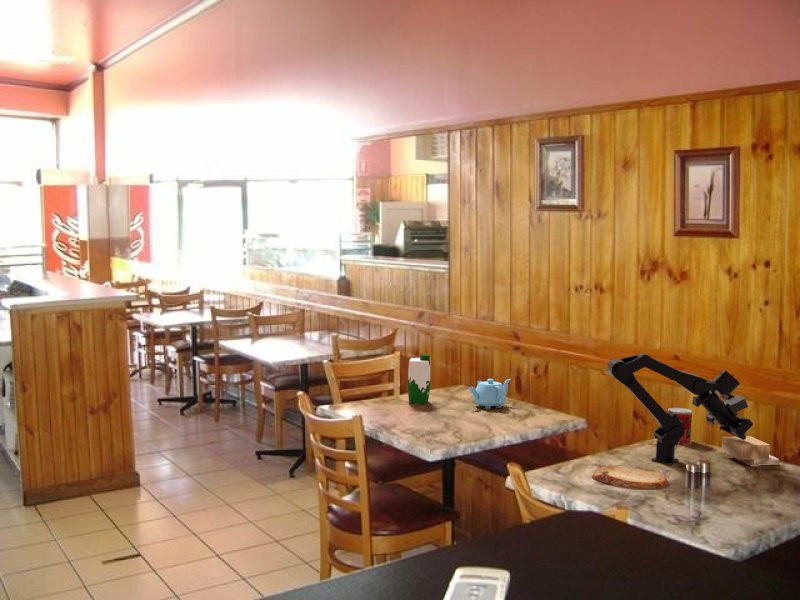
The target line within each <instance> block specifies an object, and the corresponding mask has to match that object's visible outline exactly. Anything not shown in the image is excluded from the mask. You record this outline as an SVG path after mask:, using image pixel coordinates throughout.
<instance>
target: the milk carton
mask: <svg viewBox="0 0 800 600" xmlns="http://www.w3.org/2000/svg"><path fill="white" fill-rule="evenodd" d="M407 370H408V371H407V373H408V374H407V393H408V394H407V395H408V397H407V398H408V404H409V405H427V404H428V402H429V399H430V394H431V393H430V391H431V355H430V354H428V353H422V354H420V355H419V357H415V358H414V357H411V358H410V359H409V361H408V369H407Z"/></svg>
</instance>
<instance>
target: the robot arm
mask: <svg viewBox="0 0 800 600" xmlns="http://www.w3.org/2000/svg"><path fill="white" fill-rule="evenodd" d="M644 368H645V369H648V370H651V371H653V372H655V373H656V374H659V375H662V376H663V377H665V378H668V379H670V380H671V381H674V382H676V384H678V385H679V386H681V387H682V388H684V389H685V390H686V391H687V392H690V393H691V394H693V395H695V396H693V397H692V402H691V404H692V405H693V406H695V407H696V408H699V407H700V406H701V405H702V406H703V408H704V409H705V410H706V411H707V412H706V413H707V415H706V419H705V421H706V422H707V423H709V425H711V426H715V425H716V424H717V425H719V430H721V431H724V432H725V433H728V434H730V435H732V436H733V437H738V438H740V439H742V440H745V439H746V436H747V435H746V432H748V431H749V430H750V429H751V427H753V426H754V422H753V421H752V420H751V419H750V418H748V417H746V416H738V415H739V412H740V411H742V410H744V409H747V408H749V405H748V402H747V400H746V398H745V396H741V395H733V394H732V393H733V392H734V391H736V389H738V387H739V386H741V383H740V382H739V380H738V379H737V378H736V377H734V376H733V375H732V374H731V373H729V372H728V371H727V370H725V369H722V370H721V371H720V372H719V374H718V375H717V376H715V378H713V379H712V380H710V379H708V378H707V379H706V378H703V377H701V376H699V375H697V374H695V373H691V372H688V371H683V370H679V369H676V368H675V367H672V366H670V365H668V364H666V363H663V362H662V361H659V360H658V359H655V358H653V357H651V356H650V355H648V354H647V353H645V352H640V353H637V354H635V355H631V356H625V357H623V358H622V357H621V358H613V359H611V360H609V361H608V362H607V365H606V371H607V372H608V374H609V375H610V376H612V377H613V378H614V379H616V380H617V381H618V382H619V383H620V384H622V385H623V386H625V387H626V388H627V389H628V390H629V391H630V392H631V393H632V395H634V397H635V398H636V399H637V400H638V401H639V402H640V403H641V404H642V405H643V406H644V408H645V410H647V411H648V412H649V413H650V414H651V416H653V418H654V420H655V421H656V423H657V425H658V428H657V429H655V430H654V431H653V436H654V439H655V440H656V445H655V446H656V448H655V456H654V457H652V458H650V459H651V461H653V462H658V463H663V464H667V465H673V464H674V463H676V462H679V458H676V456H675V454H676V446H678V444H679V443H678V442H679V440H680V438H682V437H683V435H684V433H685V428H684V426H683V425H682V424H684V423H683V422H682V421H681V420H679V419H678V417H677V416H676V414H675V413H673V412H672V411H670V410H669V411H668V410H667V411H665V410H664V408H663V407H662V406H661V405H660V404H659V403H658V401H656V400H655V399H654V398H653V396H651V394H650V393H649V392H648V391H647V390H646V388H644V387H643V385H641V383H640V382H639V381H638V379H637V378H636V376H635V374H634V373H637V372H638V371H640V370H642V369H644ZM721 397H724V400H723V399H722V398H721Z"/></svg>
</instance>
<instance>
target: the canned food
mask: <svg viewBox="0 0 800 600" xmlns="http://www.w3.org/2000/svg"><path fill="white" fill-rule="evenodd" d="M669 410H670V411H672V412H673V413H675V414H676V416H677V417H678V419H679V420H681V421H682V422H683V423H684V424H682V425H683V426H684V428H685V433H684V435H683V437H682V438H680V440H679V442H680V443H679V444H688V443H687V442H689V443H690V442H691V440H692V439H691V437H692V436H691V435H692V418H693V411H692V410H691V409H690V408H689V409H688V408H684V407H683V408H682V407H670V408H668V410H667V412H668V411H669Z"/></svg>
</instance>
